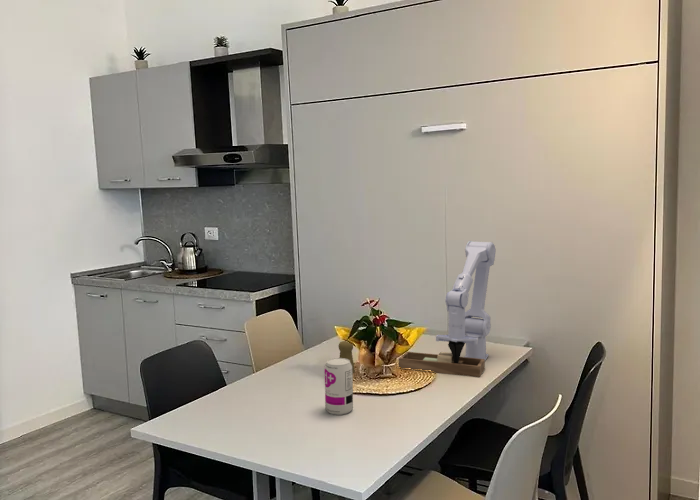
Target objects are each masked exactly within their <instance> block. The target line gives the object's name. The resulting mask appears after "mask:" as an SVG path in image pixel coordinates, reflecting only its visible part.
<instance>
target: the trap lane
mask: <svg viewBox="0 0 700 500" xmlns="http://www.w3.org/2000/svg"><path fill="white" fill-rule="evenodd" d="M404 353H405V352H404ZM404 353H403V354H404ZM403 354H402V355H401V356H400V357H399V358H398V368H399V367H401V368H411V369H422V370H431V371H434V372H436V373H437V374H445V375H453V376H455V375H456V376H463V377H475V378H480V377H481V376H482V374H483V372H484V371H485V369H486V360H485V359H479V358H469V357H465V356H460V359H459V363H445V362H437V356H438V354H435V353H425V352H424V353H423V352H416V351H415V352H414V351H406V353H405V354H404V355H403ZM434 372H433V373H434Z"/></svg>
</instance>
